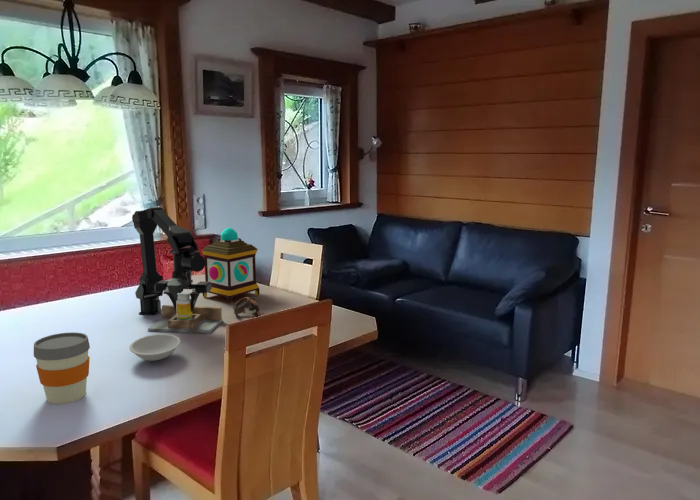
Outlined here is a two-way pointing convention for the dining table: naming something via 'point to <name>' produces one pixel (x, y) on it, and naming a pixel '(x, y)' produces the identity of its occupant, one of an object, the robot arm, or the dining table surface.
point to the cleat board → (200, 323)
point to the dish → (155, 346)
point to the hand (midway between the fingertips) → (184, 310)
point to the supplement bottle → (183, 306)
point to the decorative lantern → (230, 266)
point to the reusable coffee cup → (63, 366)
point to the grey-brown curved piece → (246, 306)
